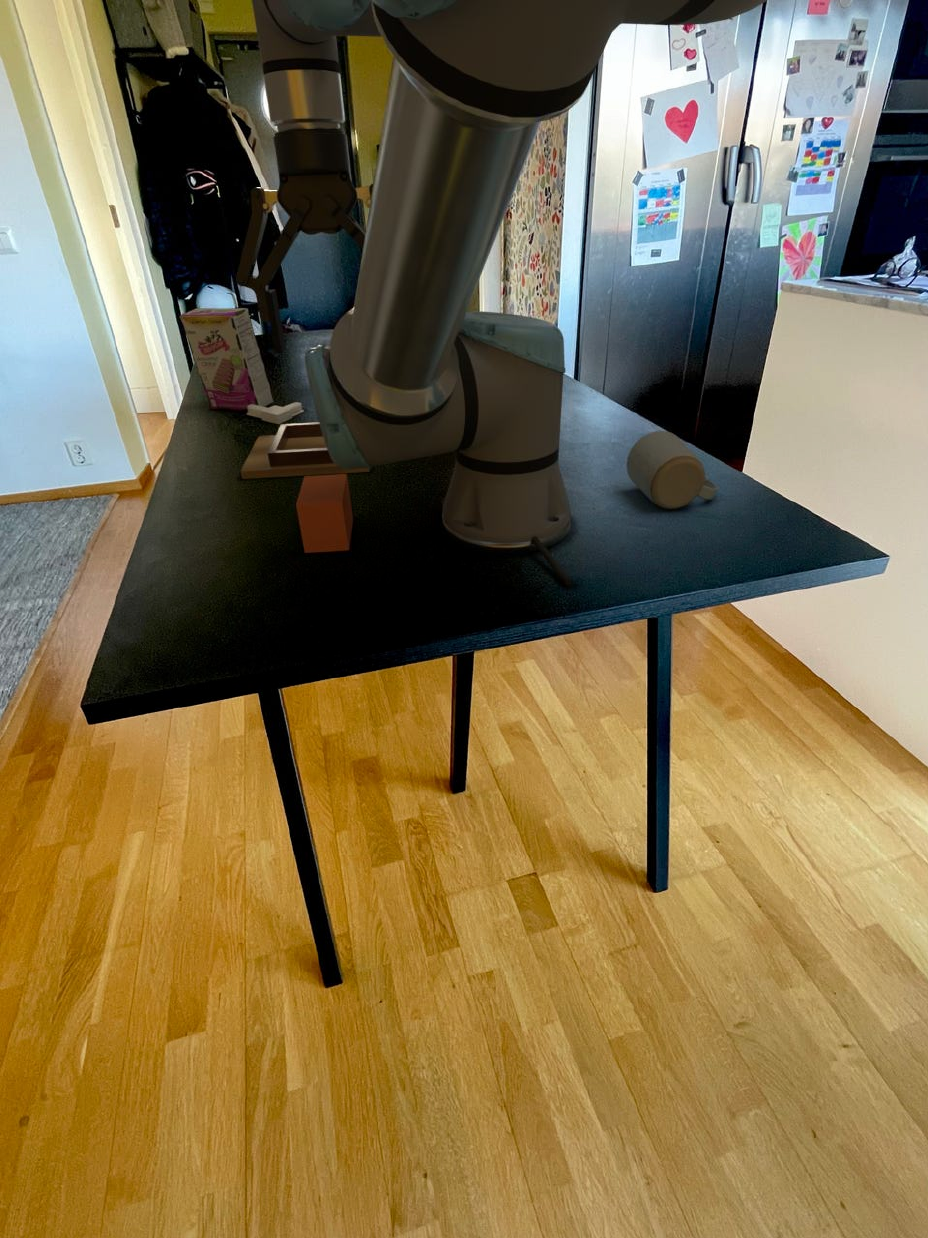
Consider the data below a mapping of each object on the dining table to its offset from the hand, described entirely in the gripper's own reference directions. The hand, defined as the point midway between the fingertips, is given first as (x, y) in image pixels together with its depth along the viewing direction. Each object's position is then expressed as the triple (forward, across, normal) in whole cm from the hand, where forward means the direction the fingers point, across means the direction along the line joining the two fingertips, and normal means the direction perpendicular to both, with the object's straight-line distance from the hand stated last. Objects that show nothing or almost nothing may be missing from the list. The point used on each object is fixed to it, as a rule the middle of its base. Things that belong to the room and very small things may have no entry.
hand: (337, 348), depth 79 cm
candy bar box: (+17, +24, -40) cm, 50 cm away
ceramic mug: (+18, -41, +7) cm, 45 cm away
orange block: (+18, +2, +13) cm, 23 cm away
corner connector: (+17, +17, -36) cm, 43 cm away
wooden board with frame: (+18, +8, -14) cm, 24 cm away
